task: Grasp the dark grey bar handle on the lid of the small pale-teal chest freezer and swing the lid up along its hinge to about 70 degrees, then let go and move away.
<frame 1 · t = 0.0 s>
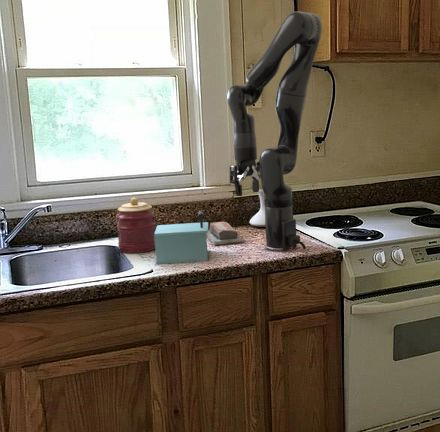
hand: (247, 193, 216), 17 cm above the countertop, tool pointing down, fingers open, 8 cm apart
kitchen canister: (138, 249, 217), on the countertop
freezer: (182, 257, 204), on the countertop
packaged product: (223, 239, 227), on the countertop
flower in vase: (262, 226, 245), on the countertop
freezer lid: (181, 221, 202), point 12 cm above the countertop, hinge at 0.0°
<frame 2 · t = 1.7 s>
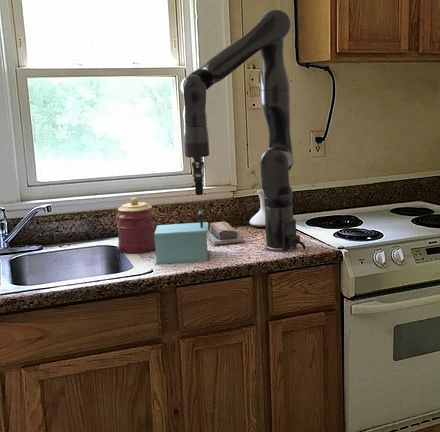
hand: (199, 192, 201), 21 cm above the countertop, tool pointing down, fingers open, 8 cm apart
nothing on the countertop moved.
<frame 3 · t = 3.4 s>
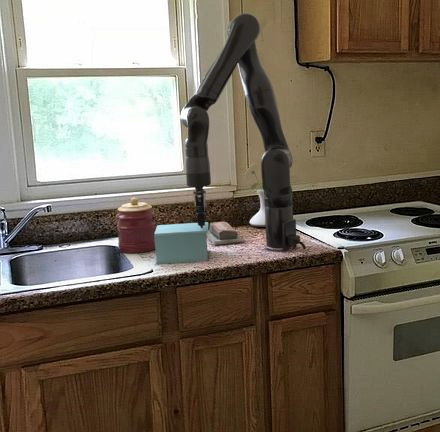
hand: (201, 223, 203), 11 cm above the countertop, tool pointing down, fingers closed on freezer lid, 5 cm apart
freezer lid: (181, 221, 202), point 12 cm above the countertop, hinge at 0.0°, touching gripper
everything else where it was.
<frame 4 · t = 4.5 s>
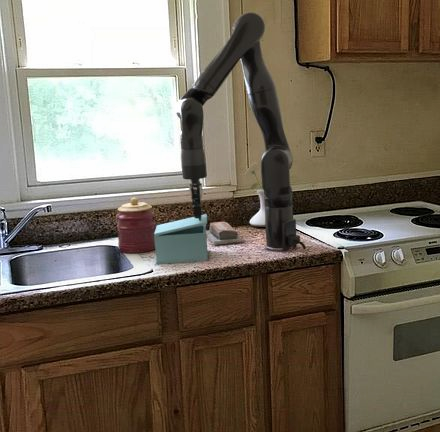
hand: (198, 216, 202), 13 cm above the countertop, tool pointing down, fingers closed on freezer lid, 5 cm apart
freezer lid: (179, 217, 201), point 13 cm above the countertop, hinge at 9.7°, touching gripper
everything else where it was.
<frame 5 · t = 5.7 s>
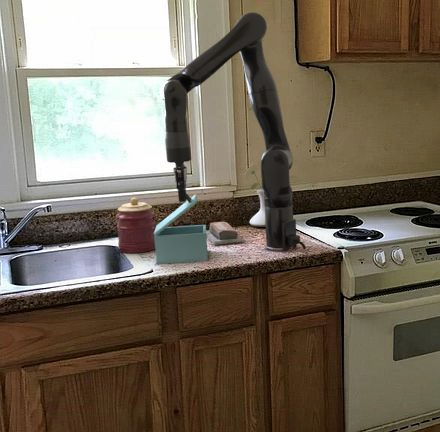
hand: (182, 199, 200), 19 cm above the countertop, tool pointing down, fingers closed on freezer lid, 5 cm apart
freezer lid: (171, 208, 201), point 16 cm above the countertop, hinge at 35.8°, touching gripper
everything else where it was.
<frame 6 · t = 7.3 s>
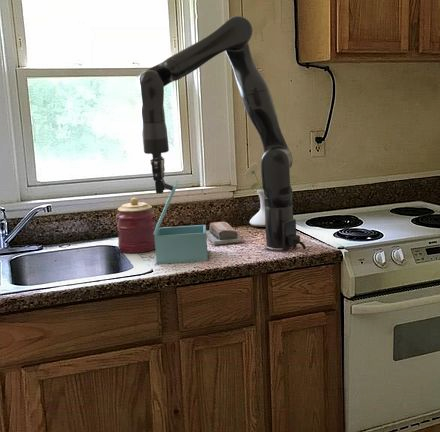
hand: (160, 191, 199), 22 cm above the countertop, tool pointing down, fingers closed on freezer lid, 5 cm apart
freezer lid: (159, 204, 200), point 18 cm above the countertop, hinge at 63.0°, touching gripper
everything else where it was.
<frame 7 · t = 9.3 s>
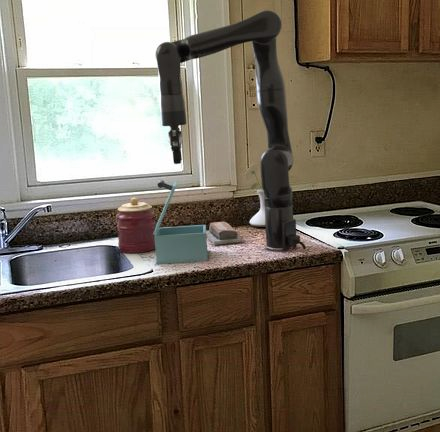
hand: (177, 162, 199), 30 cm above the countertop, tool pointing down, fingers open, 8 cm apart
freezer lid: (158, 204, 200), point 18 cm above the countertop, hinge at 63.6°
everything else where it was.
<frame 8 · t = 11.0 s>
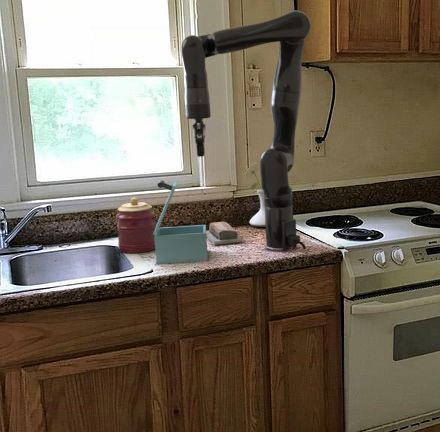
hand: (200, 155, 201), 32 cm above the countertop, tool pointing down, fingers open, 8 cm apart
nothing on the countertop moved.
at the end: freezer lid at +64° (first picture: +0°) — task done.
